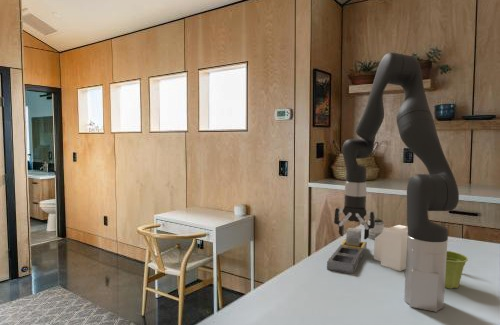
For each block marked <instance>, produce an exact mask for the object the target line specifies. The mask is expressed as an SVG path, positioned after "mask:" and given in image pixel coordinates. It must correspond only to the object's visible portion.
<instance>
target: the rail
mask: <svg viewBox="0 0 500 325" xmlns="http://www.w3.org/2000/svg"><path fill="white" fill-rule="evenodd" d="M367 248H368V247H367V241H361V248H360V247H355V246H348V245H346V239H344V240H343V241H342V242H341V244H340V245H339V246H338V248H337V249H336V250H335V251H334V253H332V255H331V257H329V259H328V260H327V261H326V270H329V271H335V272H341V273H346V274H351V275H352V274H354V273H355V270H356V269H357V266H358V264H359V262H360V261H361V259H362V257H363V256H364V254H365V252H366V250H367Z"/></svg>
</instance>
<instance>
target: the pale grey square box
mask: <svg viewBox="0 0 500 325" xmlns="http://www.w3.org/2000/svg"><path fill="white" fill-rule="evenodd" d="M346 229H347V230H346V233H345V235H346V237H345V238H346V245H348V246H355V247H360V248H361V242H362V228H354V227H348V228H346Z"/></svg>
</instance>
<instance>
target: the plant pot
mask: <svg viewBox="0 0 500 325" xmlns="http://www.w3.org/2000/svg"><path fill="white" fill-rule="evenodd" d="M467 261H468V257H467V256H465V255H464V254H461V253H459V252H455V251H451V250H447V258H446V274H445V289H446V288H447V289H458V288H459V287H460V282H461V279H462V278H461V277H462V274H463V270H464V266H465V265H466V263H467Z"/></svg>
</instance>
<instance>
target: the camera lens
mask: <svg viewBox="0 0 500 325" xmlns="http://www.w3.org/2000/svg"><path fill="white" fill-rule="evenodd" d="M367 223H368V224H369V225H370V218H369V219H368V220H367ZM384 223H385V222H384V221H383V219H380V218H375V227H374V228H373V229H372V228H371V229H369V237H368V238H367V239H370V240H374V239H375V238H376V237H377V236H378V235H380V234H381V233H382V230H383V229H385V228H384Z"/></svg>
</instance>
